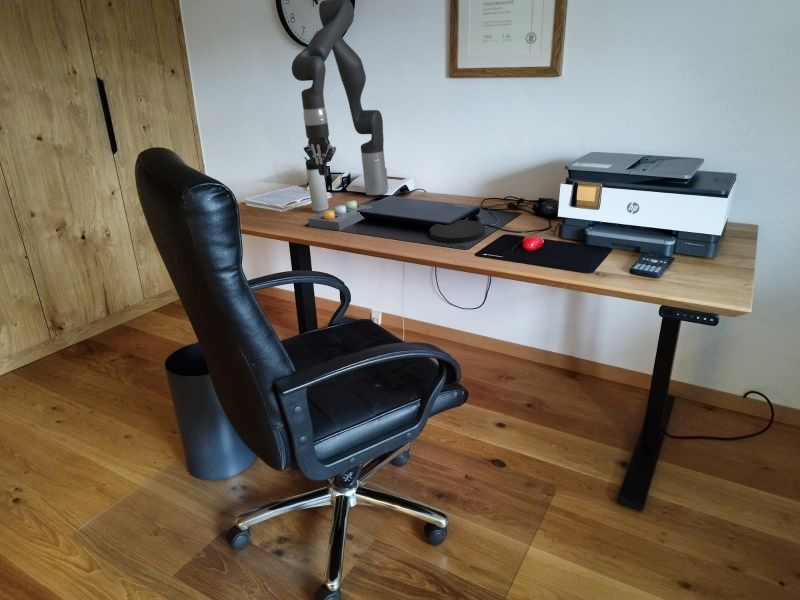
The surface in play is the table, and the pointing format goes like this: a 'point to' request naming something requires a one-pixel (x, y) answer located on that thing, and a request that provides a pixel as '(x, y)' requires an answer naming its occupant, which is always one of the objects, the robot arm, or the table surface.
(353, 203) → the sage button
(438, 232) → the wireless charger
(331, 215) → the orange button
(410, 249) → the table surface
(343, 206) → the blue-grey button
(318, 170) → the robot arm
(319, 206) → the travel mug
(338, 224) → the button panel
